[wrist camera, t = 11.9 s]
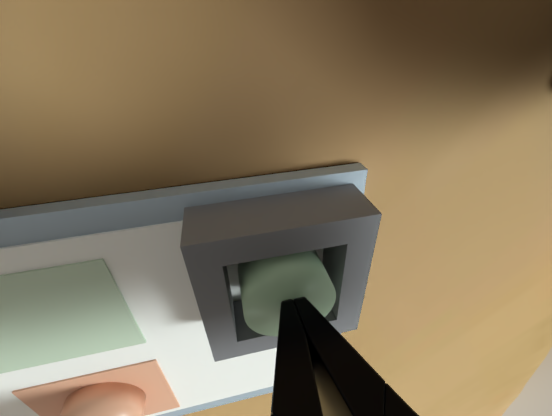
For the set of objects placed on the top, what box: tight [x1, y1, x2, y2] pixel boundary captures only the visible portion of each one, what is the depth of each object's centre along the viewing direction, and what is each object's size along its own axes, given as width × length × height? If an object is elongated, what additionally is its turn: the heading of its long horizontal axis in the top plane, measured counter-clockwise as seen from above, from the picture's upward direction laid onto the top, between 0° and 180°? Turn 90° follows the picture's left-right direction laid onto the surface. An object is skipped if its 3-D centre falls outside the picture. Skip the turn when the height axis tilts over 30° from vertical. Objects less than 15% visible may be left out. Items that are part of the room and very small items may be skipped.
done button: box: [238, 250, 336, 336], centre depth 10 cm, size 3×3×2 cm
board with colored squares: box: [0, 163, 382, 416], centre depth 12 cm, size 18×15×3 cm
